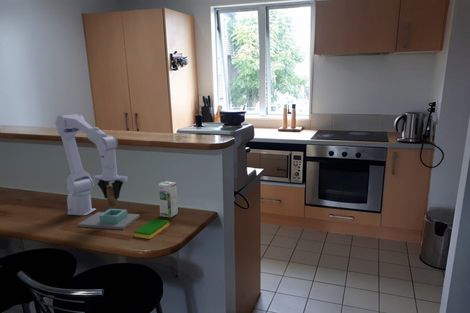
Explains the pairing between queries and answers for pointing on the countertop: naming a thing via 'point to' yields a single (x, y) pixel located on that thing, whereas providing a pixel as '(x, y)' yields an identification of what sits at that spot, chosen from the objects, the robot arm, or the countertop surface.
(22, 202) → the countertop surface
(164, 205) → the syrup box
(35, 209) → the countertop surface
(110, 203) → the walnut peg
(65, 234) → the countertop surface
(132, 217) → the socket stand
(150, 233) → the dish sponge
